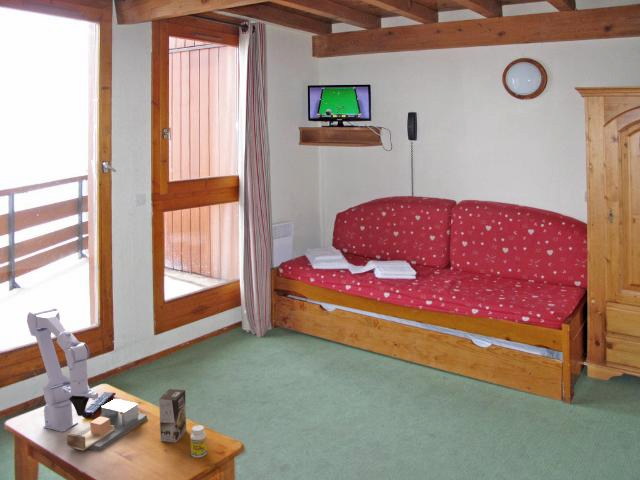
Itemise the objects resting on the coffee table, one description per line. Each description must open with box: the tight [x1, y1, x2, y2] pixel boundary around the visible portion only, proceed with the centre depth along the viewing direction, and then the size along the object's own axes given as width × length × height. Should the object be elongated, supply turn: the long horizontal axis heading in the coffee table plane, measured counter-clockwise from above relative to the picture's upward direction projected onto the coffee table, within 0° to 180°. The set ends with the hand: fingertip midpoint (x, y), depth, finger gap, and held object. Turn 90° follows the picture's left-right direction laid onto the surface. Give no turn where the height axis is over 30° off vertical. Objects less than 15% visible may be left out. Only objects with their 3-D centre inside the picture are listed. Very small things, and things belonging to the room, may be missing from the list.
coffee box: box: [158, 388, 187, 443], centre depth 233 cm, size 9×6×16 cm
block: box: [89, 415, 111, 435], centre depth 232 cm, size 4×5×4 cm
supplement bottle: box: [189, 424, 208, 458], centre depth 221 cm, size 5×5×10 cm
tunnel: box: [101, 398, 139, 427], centre depth 242 cm, size 10×8×6 cm
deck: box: [76, 412, 148, 452], centre depth 237 cm, size 13×26×2 cm, turn 158°
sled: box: [66, 425, 114, 452], centre depth 228 cm, size 7×16×4 cm, turn 158°
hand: (81, 414), depth 229 cm, fingers closed
